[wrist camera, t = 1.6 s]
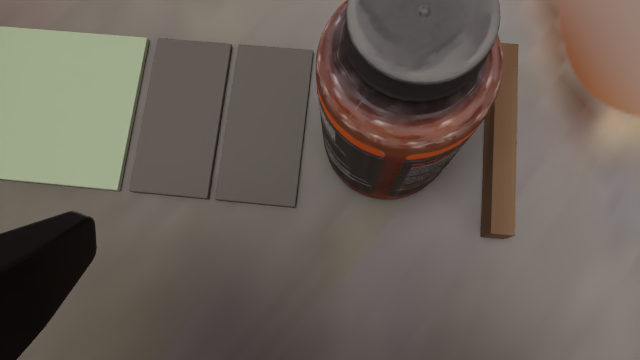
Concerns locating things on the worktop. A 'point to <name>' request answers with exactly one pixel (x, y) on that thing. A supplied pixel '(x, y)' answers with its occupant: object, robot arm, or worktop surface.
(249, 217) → the worktop surface
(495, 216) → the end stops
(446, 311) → the worktop surface
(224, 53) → the pads
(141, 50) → the pad
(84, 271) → the robot arm
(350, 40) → the supplement bottle
